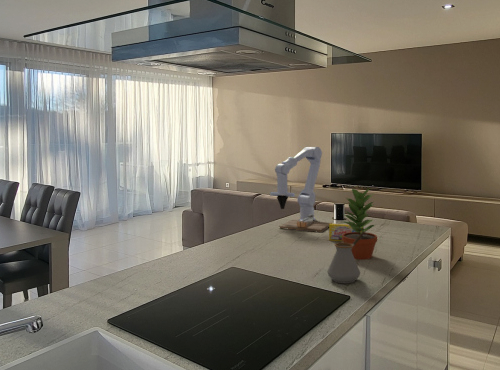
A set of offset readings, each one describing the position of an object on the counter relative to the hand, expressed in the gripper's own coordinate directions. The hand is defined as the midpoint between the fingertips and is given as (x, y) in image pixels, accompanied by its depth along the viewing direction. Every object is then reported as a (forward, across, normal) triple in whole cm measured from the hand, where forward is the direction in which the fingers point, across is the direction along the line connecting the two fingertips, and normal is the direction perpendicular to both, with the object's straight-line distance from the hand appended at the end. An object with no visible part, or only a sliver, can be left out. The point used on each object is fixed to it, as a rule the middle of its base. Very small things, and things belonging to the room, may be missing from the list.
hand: (282, 208), depth 256 cm
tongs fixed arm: (+8, +14, +1) cm, 16 cm away
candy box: (+10, +43, -23) cm, 50 cm away
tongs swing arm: (+8, +13, -1) cm, 15 cm away
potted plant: (+10, +55, -47) cm, 73 cm away
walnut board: (+9, +14, 0) cm, 17 cm away
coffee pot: (+10, +59, -74) cm, 95 cm away
